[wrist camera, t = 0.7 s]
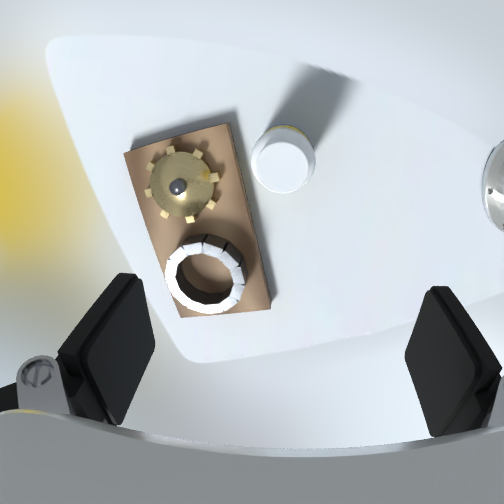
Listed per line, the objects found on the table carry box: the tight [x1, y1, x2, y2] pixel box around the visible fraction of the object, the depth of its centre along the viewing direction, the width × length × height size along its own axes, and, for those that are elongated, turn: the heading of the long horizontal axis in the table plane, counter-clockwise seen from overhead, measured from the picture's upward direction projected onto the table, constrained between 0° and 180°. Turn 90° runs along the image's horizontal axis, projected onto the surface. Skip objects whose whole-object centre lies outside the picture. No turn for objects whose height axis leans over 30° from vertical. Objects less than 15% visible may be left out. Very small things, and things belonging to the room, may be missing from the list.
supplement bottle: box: [251, 125, 315, 193], centre depth 27 cm, size 5×5×10 cm
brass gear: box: [144, 144, 222, 223], centre depth 32 cm, size 8×8×2 cm
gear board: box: [123, 123, 271, 318], centre depth 36 cm, size 12×22×2 cm, turn 13°
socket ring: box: [165, 233, 248, 314], centre depth 36 cm, size 9×9×2 cm
